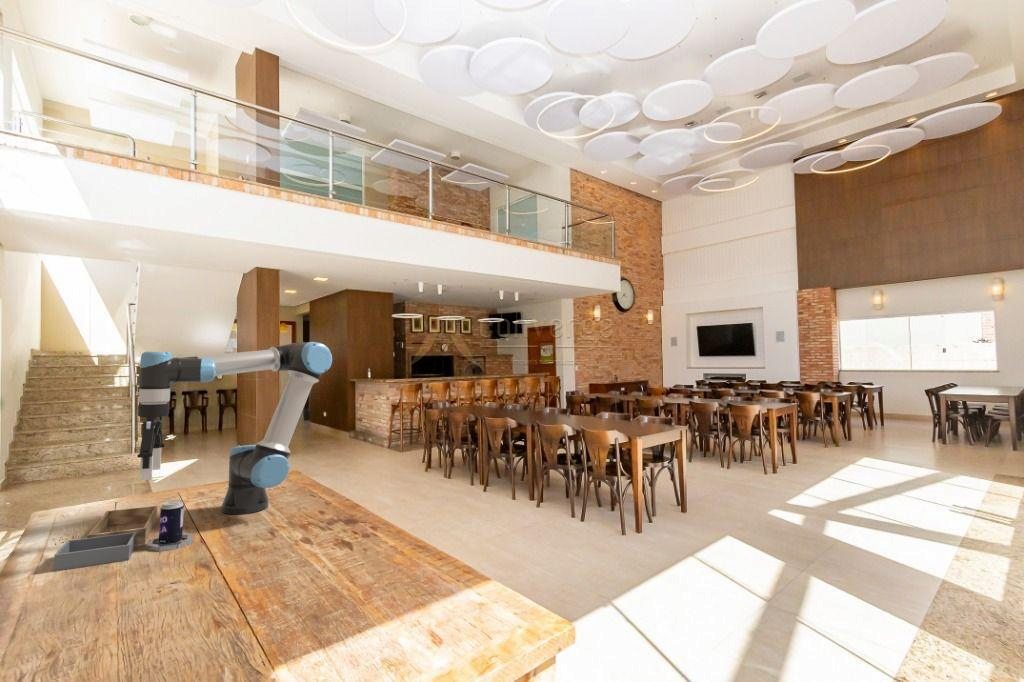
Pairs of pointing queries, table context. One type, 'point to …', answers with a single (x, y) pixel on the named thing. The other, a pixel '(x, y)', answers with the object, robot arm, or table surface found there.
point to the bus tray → (95, 551)
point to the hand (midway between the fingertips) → (150, 474)
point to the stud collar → (155, 547)
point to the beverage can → (171, 522)
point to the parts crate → (127, 517)
